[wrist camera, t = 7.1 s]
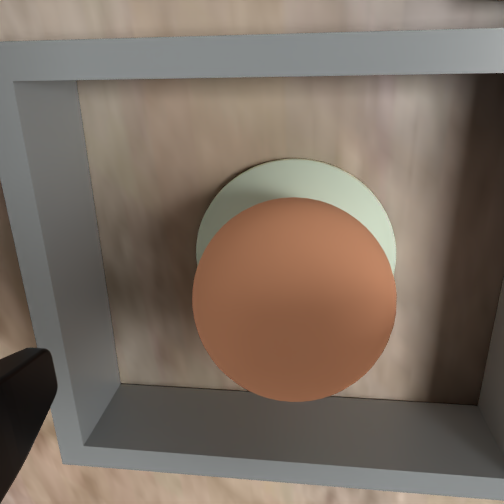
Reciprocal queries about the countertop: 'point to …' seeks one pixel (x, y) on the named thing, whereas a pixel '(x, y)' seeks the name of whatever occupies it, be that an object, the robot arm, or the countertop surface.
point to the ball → (294, 299)
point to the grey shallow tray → (218, 213)
